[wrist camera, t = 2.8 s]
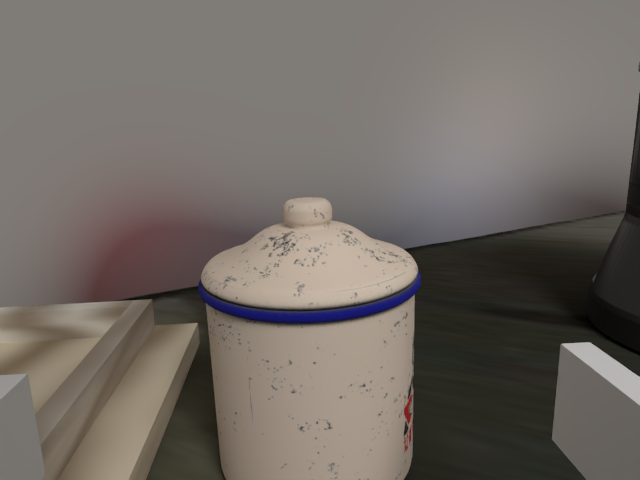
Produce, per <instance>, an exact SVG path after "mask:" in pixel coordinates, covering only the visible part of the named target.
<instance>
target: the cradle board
mask: <svg viewBox="0 0 640 480" xmlns="http://www.w3.org/2000/svg"><path fill="white" fill-rule="evenodd" d="M199 344H200V340H199V330H198V323H188V324H171V325H155V319H154V311H153V303H152V299H150V300H131V301H113V302H94V303H76V304H58V305H39V306H20V307H3V308H0V375H13V374H28V378H29V383H30V389H31V395H32V400H33V406H34V412H35V417H36V423H37V429H38V434H39V440H40V446H41V451H42V457H43V462H44V468H45V475H44V477H43V478H42V480H146V479H147V476H148V474H149V471H150V469H151V466H152V463H153V461H154V458H155V456H156V453H157V451H158V448H159V446H160V443H161V441H162V438H163V435H164V433H165V430H166V428H167V425H168V423H169V420H170V418H171V415H172V413H173V410H174V407H175V405H176V402H177V400H178V397H179V395H180V392H181V390H182V387H183V385H184V382H185V379H186V377H187V374H188V372H189V369H190V367H191V364H192V362H193V359H194V357H195V354H196V351H197V349H198V346H199Z"/></svg>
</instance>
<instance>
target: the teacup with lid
mask: <svg viewBox="0 0 640 480" xmlns="http://www.w3.org/2000/svg"><path fill="white" fill-rule="evenodd" d="M283 219H284V221H285V222H284V223H280V224H276V225H273V226H271V227H269V228H266V229H264V230H263V231H261V232H259V233H258V234H257V235H255V236H254V237H253V238H252V239H251V240H249V241H248V242H246V243H245V244H243V245H239V246H236V247H233V248H230V249H228V250H225V251H223V252H221V253H219V254H218V255H216V256H215V257H213V258H212V259H211V260H210V261H209V262H208V263H207V264H206V266H205V267H204V269H203V271H202V274H201V280H200V282H199V286H198V290H199V295H200V296H201V298H202V300H203V301H204V302H205V303H206V309H207V320H208V331H209V342H210V353H211V363H212V374H213V385H214V396H215V406H216V417H217V428H218V439H219V449H220V460H221V466H222V470H223V473H224V476H225V478H226V480H404V479H405V477H406V475H407V473H408V471H409V468H410V465H411V460H412V452H413V379H414V306H415V293H416V292H417V291H418V289H419V288H420V285H421V276H420V273H419V271H418V267H417V264H416V262H415V261H414V259H413V258H412V256H411V255H410V254H409V253H408V252H406V251H405V250H403V249H402V248H400V247H398V246H396V245H393V244H390V243H387V242H383V241H380V240H376V239H372V238H370V237H368V236H367V235H365V234H364V233H363V232H361V231H359V230H358V229H356V228H354V227H352V226H351V225H348V224H345V223H341V222H337V221H331V219H332V206H331V204H330V203H329V201H328V200H326V199H324V198H315V197H306V198H296V199H291V200H288V201H287V202H286V203H285V204H284V206H283Z"/></svg>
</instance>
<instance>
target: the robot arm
mask: <svg viewBox="0 0 640 480" xmlns="http://www.w3.org/2000/svg"><path fill="white" fill-rule="evenodd" d="M639 71H640V63H639ZM587 316H588V318H589V320H590V321H591V323H592V324H593V325H594V326H595V327H596V328H597V329H599V330H600V331H601V332H603V333H604V334H605V335H607V336H609V337H610V338H612V339H614V340H615V341H617V342H619V343H621V344H623V345H625V346H627V347H629V348H632V349H634V350H636V351H639V352H640V94H639V104H638V112H637V121H636V130H635V139H634V147H633V155H632V162H631V170H630V178H629V189H628V196H627V204H626V211H625V214H624V217H623V219H622V221H621V223H620V225H619V227H618V229H617V231H616V233H615V235H614V237H613V239H612V241H611V243H610V245H609V247H608V249H607V251H606V254H605V256H604V258H603V260H602V263H601V265H600V267H599V270H598V272H597V274H596V275H595V276H594V277H593V278H592V280H591V283H590V287H589V294H588V304H587ZM552 440H553V441H554V442H555V443H556V445H557V446H558V447H559V448H560V449H561V450H562V452H563V453H564V454H565V455H566V456H567V457H568V459H569V460H570V461H571V462H572V463H573V464H574V466H575V467H576V468H577V469H578V470H579V471H580V473H581V474H582V475H583V476H584V477H585V478H586V480H640V377H639V376H637V375H636V374H634V373H633V372H631V371H630V370H629V369H627V368H626V367H624V366H623V365H621V364H620V363H619V362H617V361H616V360H614V359H613V358H611V357H610V356H609V355H607V354H606V353H604V352H603V351H601V350H600V349H599V348H597V347H596V346H594V345H593V344H592V343H590V342H587V343H569V344H561V348H560V359H559V369H558V380H557V391H556V402H555V412H554V423H553V434H552ZM44 475H45V468H44V462H43V457H42V451H41V446H40V440H39V434H38V429H37V423H36V417H35V412H34V406H33V400H32V395H31V389H30V383H29V378H28V374H13V375H0V480H42V478H43V477H44Z"/></svg>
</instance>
